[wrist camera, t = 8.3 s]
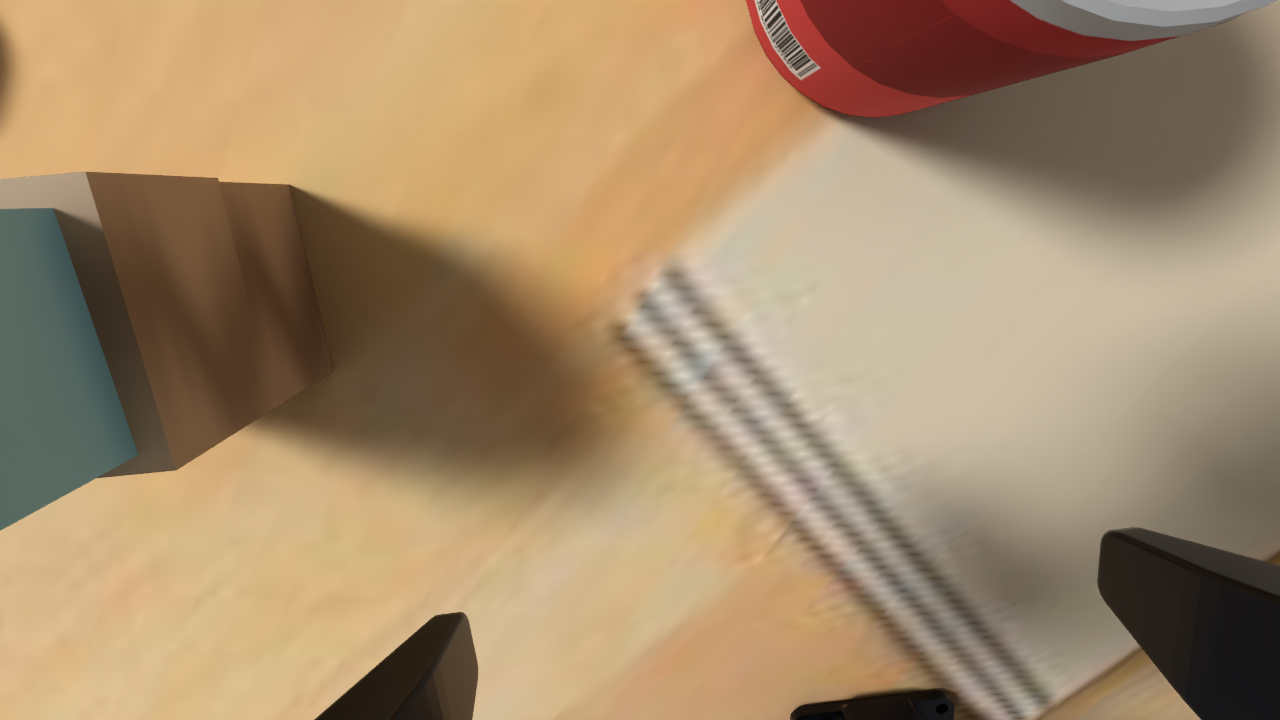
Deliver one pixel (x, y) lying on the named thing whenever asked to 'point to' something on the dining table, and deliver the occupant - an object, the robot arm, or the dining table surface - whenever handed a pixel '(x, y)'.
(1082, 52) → the canned food
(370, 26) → the dining table surface
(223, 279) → the tower top
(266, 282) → the tower base
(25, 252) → the teal block
